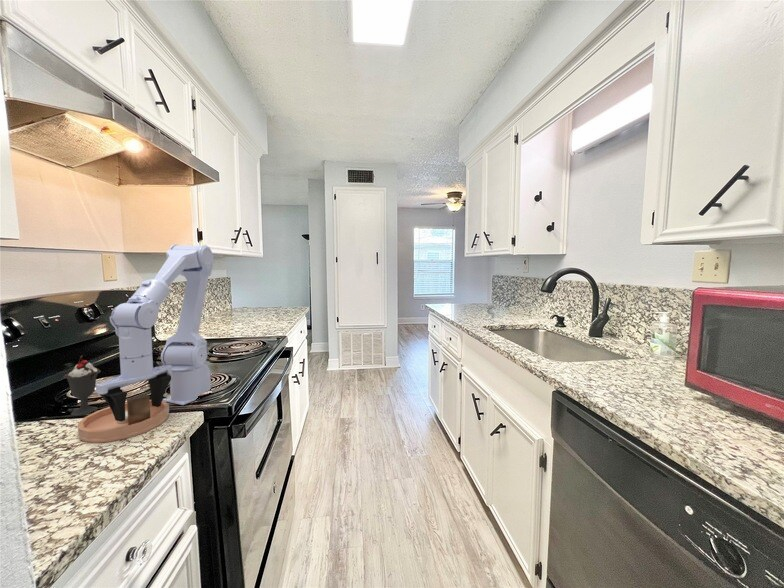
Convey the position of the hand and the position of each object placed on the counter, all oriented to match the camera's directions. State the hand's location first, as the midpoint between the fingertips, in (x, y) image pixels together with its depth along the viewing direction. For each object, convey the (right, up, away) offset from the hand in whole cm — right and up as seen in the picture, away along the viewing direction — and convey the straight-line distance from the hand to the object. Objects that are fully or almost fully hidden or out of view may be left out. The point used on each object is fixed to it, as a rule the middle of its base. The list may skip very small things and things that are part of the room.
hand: (139, 412), depth 71 cm
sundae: (-20, -3, +8) cm, 22 cm away
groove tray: (-4, -3, +2) cm, 6 cm away
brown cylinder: (0, -3, 0) cm, 2 cm away
